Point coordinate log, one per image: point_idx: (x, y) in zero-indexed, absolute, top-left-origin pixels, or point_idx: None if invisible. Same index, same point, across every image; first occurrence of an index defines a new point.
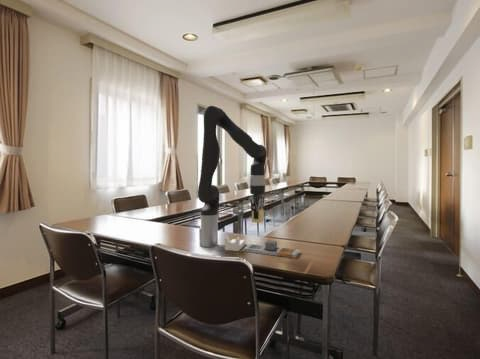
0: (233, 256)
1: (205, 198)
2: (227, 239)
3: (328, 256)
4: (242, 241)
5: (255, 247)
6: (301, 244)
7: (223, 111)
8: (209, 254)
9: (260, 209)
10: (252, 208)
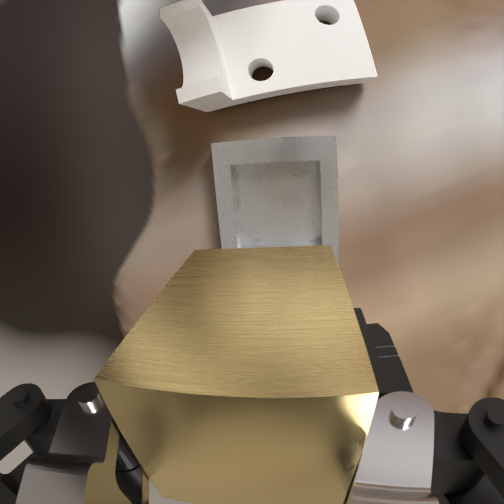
0: (144, 125)
1: None
2: (176, 23)
3: None
4: (332, 73)
5: (319, 180)
6: (474, 354)
7: None
8: (121, 12)
9: (196, 498)
10: (8, 424)
